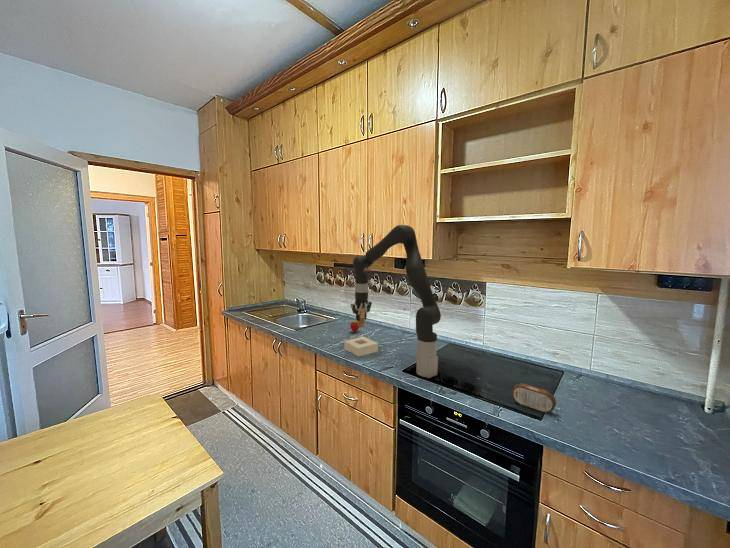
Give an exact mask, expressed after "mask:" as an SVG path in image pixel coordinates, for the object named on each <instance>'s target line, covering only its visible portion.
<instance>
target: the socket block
mask: <svg viewBox="0 0 730 548" xmlns="http://www.w3.org/2000/svg"><path fill="white" fill-rule="evenodd" d="M344 350H345V351H347V352H348V353H350V352H351V353H350V354H352V353H353V354H352V355H354V356H356V357H358V358H359V357H362V356H367V355H370V354H372V353H373V354H374V353H377V352H379V342H377V341H375V340H371V339H370V338H368V337H365V336H362V337H357V338H353V339H352V338H351V339H348V340H344Z"/></svg>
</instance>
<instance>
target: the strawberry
mask: <svg viewBox="0 0 730 548" xmlns="http://www.w3.org/2000/svg"><path fill="white" fill-rule="evenodd" d="M349 326H350V329H351V331H352V332H353V333H357V331H358V330H359V329H360V327H358V321H357V320H352V321H351V323H350V324H349Z"/></svg>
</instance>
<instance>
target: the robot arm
mask: <svg viewBox="0 0 730 548" xmlns="http://www.w3.org/2000/svg"><path fill="white" fill-rule="evenodd" d="M417 240H418V239H417V236H416V232H415V229H414V227H412V226H410V225H405V224H398V225H395V226H394V227H393V228H392V229H391V230H390V231H389V232H388V233H387V234H386V235H385V236H384V237H383V238H382V239H380V241H379V242H378V243H377V244H375V245H374V246H372V247H371V248H369V249H368V250H367V251H366V252H365V254H364V255H359V256H358V255H357V256H356V257H354V258H353V260H352V268H353V271H354V272H353V273H354V274H355V285H354V287H355V288H354V294H355V295H354V299H355V301H354V303H350V307H351V310H352V311H351V312H352V314H355V321H360V315H359V314H360V311H361V308H362V306H365V321H367V316H368V315H367V314H368V313H370V311H371V308H372V304H373V303H372V301H369V275H368V273H367V272H365V271H364V269H367V268H369V267H371V266H372V265H373V264H374V263H375V262H376V261H377V260H379V259H380V258H382V257H383V256H384V255H385V254H387V252H388V250H389V249H390V248H392V247H393V246H395V245H398V244H402V245H403V247H404V250H405V255H406V260H405V272H406V276H407V280H408V283H409V285H410V287H411V288H413V290H414V291H415V293H416V294H417V295H418V296H419V298H420V301H421V304H422V307H420V308H419V309H417V311H416V312H415V333H416V336H417V339H416V341H417V342H416V345H417V347H416V375H418V376H420V377H423V378H427V379H430V378H432V377H436V376H438V365H439V356H438V355H437V346H438V343H437V342H438V335H437V333H436V332H434V331H433V330H434V329H433V325H436V324H438V323H439V322H440V321H441V318H442V315H441V311H440V308H439V305H438V303H437V301H436V299H435V297H434V294H433V291H432V288H431V285H430V282H429V279H428V275H427V272H426V268H425V266H424V263H423V259H422V256H421V253H420V249H419V245H418V241H417ZM358 308H359V309H358Z"/></svg>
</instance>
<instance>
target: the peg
mask: <svg viewBox="0 0 730 548" xmlns="http://www.w3.org/2000/svg"><path fill="white" fill-rule="evenodd" d="M358 309H359V308H358ZM359 315H360V321H358V327H359V328H365V325H366V323H365V321H366V320H365V306H362V308H361V311H360V314H359Z"/></svg>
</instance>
